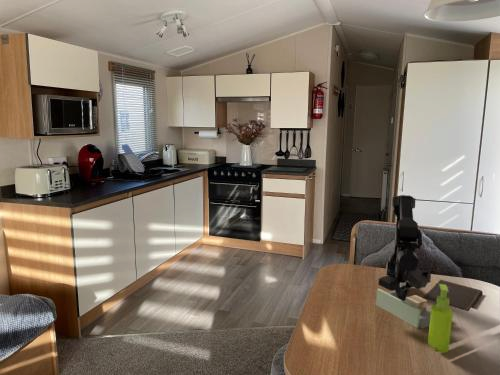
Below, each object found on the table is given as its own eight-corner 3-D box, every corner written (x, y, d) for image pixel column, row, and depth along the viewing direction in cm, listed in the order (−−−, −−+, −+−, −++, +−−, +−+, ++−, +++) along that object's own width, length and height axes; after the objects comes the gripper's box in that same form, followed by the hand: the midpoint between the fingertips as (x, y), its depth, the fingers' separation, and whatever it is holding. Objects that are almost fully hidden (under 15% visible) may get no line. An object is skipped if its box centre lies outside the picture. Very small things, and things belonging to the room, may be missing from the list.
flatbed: (400, 299, 149) (401, 288, 148) (447, 323, 131) (448, 311, 131) (376, 306, 143) (376, 295, 142) (421, 332, 125) (422, 320, 125)
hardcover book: (422, 302, 148) (423, 297, 148) (440, 284, 165) (440, 279, 164) (468, 316, 137) (469, 310, 137) (482, 295, 154) (482, 290, 154)
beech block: (414, 304, 141) (415, 294, 141) (426, 310, 137) (427, 300, 136) (405, 307, 139) (406, 297, 138) (416, 313, 135) (417, 303, 134)
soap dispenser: (446, 343, 119) (452, 284, 116) (449, 355, 113) (457, 293, 110) (425, 339, 121) (431, 281, 118) (428, 351, 115) (434, 290, 111)
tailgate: (377, 306, 142) (379, 288, 141) (418, 329, 126) (420, 309, 125) (375, 306, 141) (377, 289, 140) (416, 330, 126) (418, 310, 124)
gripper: (405, 272, 120) (401, 318, 122) (443, 263, 128) (439, 306, 131) (378, 261, 129) (375, 303, 132) (416, 253, 138) (412, 293, 141)
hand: (401, 302), depth 134 cm, fingers closed
